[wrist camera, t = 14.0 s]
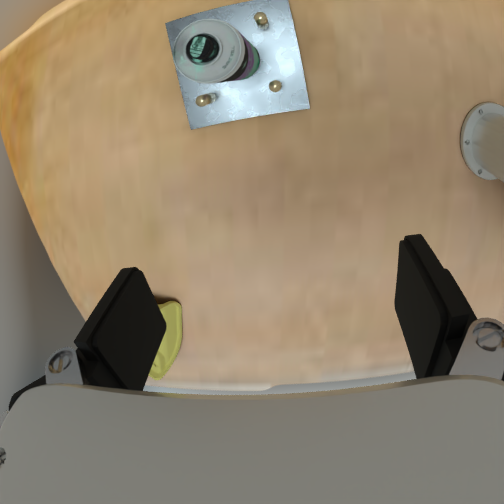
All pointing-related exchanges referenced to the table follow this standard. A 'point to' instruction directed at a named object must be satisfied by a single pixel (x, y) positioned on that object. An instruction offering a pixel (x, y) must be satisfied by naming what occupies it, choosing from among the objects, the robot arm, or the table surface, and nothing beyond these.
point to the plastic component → (168, 339)
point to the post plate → (263, 80)
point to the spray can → (214, 53)
